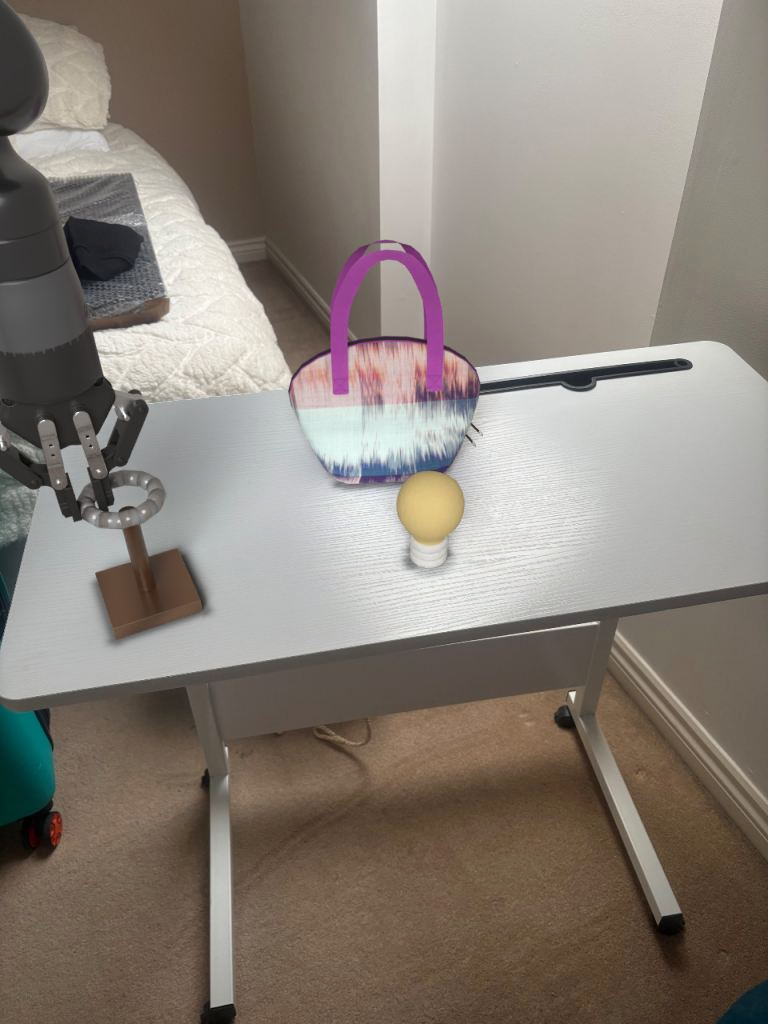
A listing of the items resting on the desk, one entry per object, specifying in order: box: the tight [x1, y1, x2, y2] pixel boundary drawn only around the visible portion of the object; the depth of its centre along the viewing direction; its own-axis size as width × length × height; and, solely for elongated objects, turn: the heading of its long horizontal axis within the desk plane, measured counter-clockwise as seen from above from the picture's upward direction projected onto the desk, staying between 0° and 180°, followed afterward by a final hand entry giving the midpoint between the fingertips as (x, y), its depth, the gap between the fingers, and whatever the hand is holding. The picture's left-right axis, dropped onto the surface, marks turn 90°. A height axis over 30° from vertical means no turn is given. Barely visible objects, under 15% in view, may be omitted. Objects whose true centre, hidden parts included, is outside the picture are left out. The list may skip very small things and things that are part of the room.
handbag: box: [287, 239, 484, 485], centre depth 87 cm, size 21×10×25 cm, turn 94°
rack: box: [94, 505, 204, 640], centre depth 75 cm, size 8×8×10 cm
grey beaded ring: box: [76, 469, 168, 530], centre depth 70 cm, size 7×7×1 cm
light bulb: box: [395, 471, 466, 569], centre depth 79 cm, size 6×6×10 cm
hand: (89, 511), depth 70 cm, fingers closed on grey beaded ring, 1 cm apart
